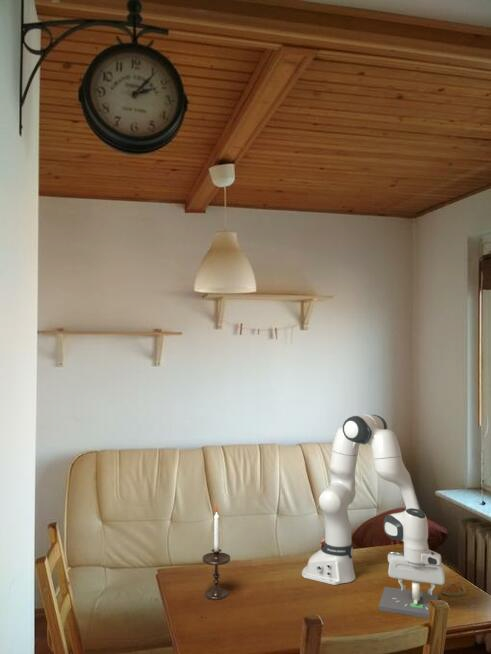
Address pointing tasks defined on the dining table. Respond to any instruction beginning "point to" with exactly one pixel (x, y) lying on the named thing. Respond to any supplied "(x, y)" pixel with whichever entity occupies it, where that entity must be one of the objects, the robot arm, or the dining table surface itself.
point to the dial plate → (405, 602)
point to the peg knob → (416, 591)
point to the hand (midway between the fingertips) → (416, 592)
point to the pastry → (454, 589)
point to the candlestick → (216, 564)
